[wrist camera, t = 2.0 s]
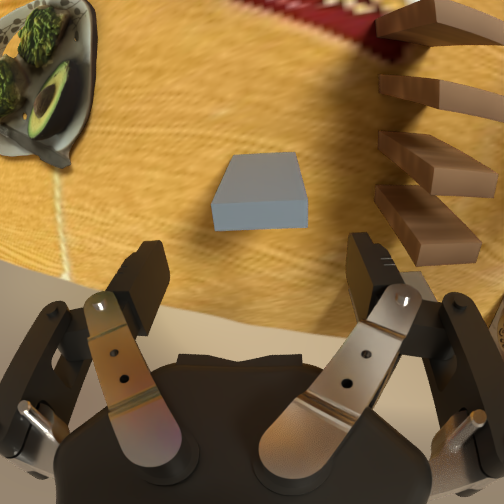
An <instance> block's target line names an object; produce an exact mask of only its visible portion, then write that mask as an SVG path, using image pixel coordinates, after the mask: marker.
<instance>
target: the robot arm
mask: <svg viewBox="0 0 504 504" xmlns="http://www.w3.org/2000/svg"><path fill="white" fill-rule="evenodd" d="M346 278H347V281H348V284H349V288H350V291H351V294H352V298H353V301H354V305H355V308H356V312H357V315H358V319H359V322H358V324H357V325H356V326H355V328H354V329H353V331H352V332H351V333H350V335H349V336H348V338H347V339H346V340H345V342H344V343H343V345H342V346H341V347H340V349H339V350H338V351H337V353H336V354H335V355H334V357H333V358H332V359H331V361H330V362H329V363H328V364H327V366H326V367H325V368H324V370H323V369H321V368H319V367H316V366H313V365H310V364H305V363H302V354H295V355H293V354H292V355H269V356H265V357H260V358H256V359H251V360H246V361H240V362H236V361H231V360H226V359H222V358H218V357H214V356H210V355H196V354H179V355H178V359H177V362H176V363H172V364H168V365H165V366H162V367H160V368H158V369H156V370H154V371H152V372H151V371H150V370H149V368H148V366H147V364H146V362H145V360H144V358H143V356H142V354H141V351H140V349H139V347H138V345H137V343H136V341H135V340H136V337H137V336H148V334H149V331H150V328H151V326H152V324H153V321H154V318H155V316H156V313H157V311H158V308H159V306H160V304H161V301H162V299H163V296H164V294H165V292H166V289H167V287H168V284H169V281H170V271H169V267H168V263H167V259H166V255H165V252H164V248H163V244H162V242H161V241H160V240H155V241H144V242H143V243H142V244H141V246H140V247H139V249H138V250H137V252H134V253H132V254H131V255H130V256H129V257H127V258H126V259H125V261H124V262H123V264H122V265H121V268H119V270H118V271H117V274H116V275H115V276H114V278H113V279H112V281H111V282H110V284H109V286H108V287H107V289H106V290H105V291H102V292H98V293H96V294H94V295H92V296H91V297H90V298H88V299H87V300H86V302H85V304H84V307H83V308H78V309H73V310H69V309H68V307H67V305H66V303H65V302H63V301H55V302H52V303H50V304H48V305H47V306H46V307H44V308H43V309H42V311H41V312H40V314H39V315H38V317H37V318H36V320H35V322H34V324H33V325H32V327H31V328H30V330H29V332H28V333H27V335H26V337H25V338H24V340H23V342H22V343H21V345H20V347H19V349H18V351H17V352H16V354H15V356H14V358H13V359H12V361H11V363H10V365H9V367H8V369H7V371H6V373H5V374H4V376H3V379H2V380H1V383H0V455H1V456H2V457H4V458H5V459H6V460H8V461H9V462H11V463H12V464H14V465H15V466H17V467H18V468H20V469H21V470H23V471H26V472H28V473H29V474H31V475H32V476H34V477H35V478H37V479H42V480H43V479H47V478H49V477H50V478H53V479H55V483H56V504H426V503H427V501H430V500H434V499H438V498H441V497H444V496H448V495H451V494H456V495H458V496H460V497H468V496H471V495H473V494H475V493H477V492H478V491H480V490H482V489H484V488H486V487H487V486H489V485H491V484H492V483H494V482H496V481H497V480H499V479H500V478H502V477H504V361H503V359H502V356H501V354H500V352H499V350H498V348H497V346H496V343H495V341H494V339H493V337H492V335H491V333H490V331H489V329H488V327H487V325H486V324H485V322H484V320H483V318H482V316H481V314H480V312H479V310H478V309H477V307H476V305H475V303H474V302H473V301H472V299H470V298H469V297H468V296H466V295H464V294H462V293H458V292H451V293H448V294H446V295H445V296H444V298H443V301H442V303H441V302H434V301H428V300H424V299H422V296H421V294H420V293H419V291H418V290H417V289H415V288H414V287H412V286H410V285H407V284H405V282H404V280H403V278H402V276H401V274H400V272H399V271H398V269H397V267H396V265H395V263H394V261H393V259H391V256H390V254H389V252H388V250H387V249H385V248H384V247H383V246H382V245H380V244H373V242H372V240H371V239H370V237H369V235H368V233H367V232H361V233H350V234H349V237H348V247H347V257H346ZM57 348H58V349H59V351H60V352H61V356H60V358H59V360H58V362H57V365H56V367H55V369H54V370H53V368H52V365H51V360H52V357H53V355H54V353H55V351H56V349H57ZM402 355H409V356H416V357H422V360H423V363H424V367H425V370H426V374H427V377H428V380H429V384H430V388H431V392H432V396H433V400H434V404H435V408H436V412H437V416H438V421H439V425H440V430H439V431H438V432H437V433H436V435H435V436H434V438H433V440H432V443H431V456H430V459H429V461H428V460H427V458H426V457H425V455H424V454H423V453H422V452H421V451H420V450H419V449H418V448H417V447H416V446H415V445H413V444H412V443H411V442H410V441H409V440H407V439H406V438H405V437H404V436H403V435H401V434H400V433H399V432H398V431H397V430H396V429H394V428H393V427H392V426H391V425H390V424H389V423H387V422H386V421H385V420H384V419H383V418H381V417H380V416H379V415H378V414H377V413H376V412H374V411H373V408H374V407H375V405H376V403H377V401H378V399H379V398H380V396H381V393H382V392H383V390H384V388H385V386H386V384H387V383H388V380H389V379H390V377H391V375H392V373H393V371H394V369H395V368H396V366H397V364H398V362H399V360H400V358H401V356H402ZM92 359H93V362H94V366H95V369H96V372H97V375H98V379H99V382H100V385H101V388H102V391H103V394H104V397H105V400H106V403H107V406H106V407H105V408H104V409H102V410H101V411H100V412H98V413H97V414H96V415H94V416H93V417H92V418H90V419H89V420H88V421H86V422H85V423H84V424H82V425H81V426H80V427H78V428H77V429H76V430H74V431H73V432H72V433H70V431H69V428H68V424H69V421H70V418H71V415H72V412H73V410H74V407H75V404H76V401H77V398H78V395H79V393H80V390H81V387H82V384H83V382H84V380H85V377H86V374H87V372H88V369H89V367H90V364H91V362H92Z"/></svg>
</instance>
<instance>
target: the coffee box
mask: <svg viewBox="0 0 504 504" xmlns="http://www.w3.org/2000/svg"><path fill="white" fill-rule="evenodd" d="M489 331H490V333H491V335H492V337H493V339H494V341H495V343H496V346H497V348H498V350H499V352H500V354H501V356H502V359H503V361H504V297H503V300H502V302H501V304H500V307H499V309H498V311H497V313H496V315H495V317H494V319H493V322H492V324H491V326H490V328H489Z"/></svg>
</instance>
